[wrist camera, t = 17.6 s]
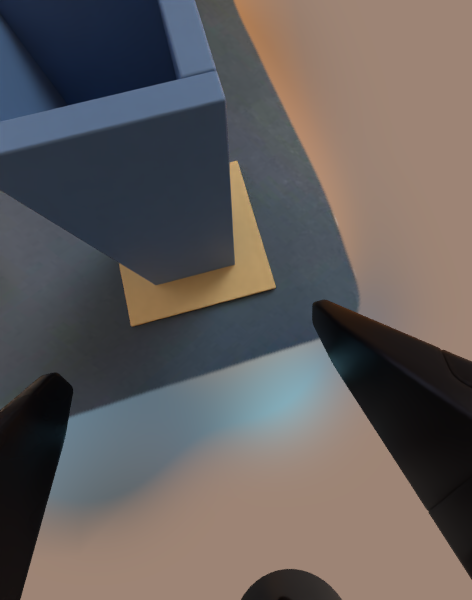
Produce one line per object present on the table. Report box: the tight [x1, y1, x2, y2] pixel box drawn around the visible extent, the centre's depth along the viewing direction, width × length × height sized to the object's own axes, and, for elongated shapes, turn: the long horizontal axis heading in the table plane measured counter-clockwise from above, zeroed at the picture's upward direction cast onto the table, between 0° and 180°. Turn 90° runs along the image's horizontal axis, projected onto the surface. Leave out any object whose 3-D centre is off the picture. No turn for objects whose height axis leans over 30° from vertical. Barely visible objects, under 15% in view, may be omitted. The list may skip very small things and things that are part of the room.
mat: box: [119, 161, 276, 326], centre depth 16 cm, size 10×10×1 cm
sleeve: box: [0, 0, 235, 285], centre depth 10 cm, size 6×6×11 cm
